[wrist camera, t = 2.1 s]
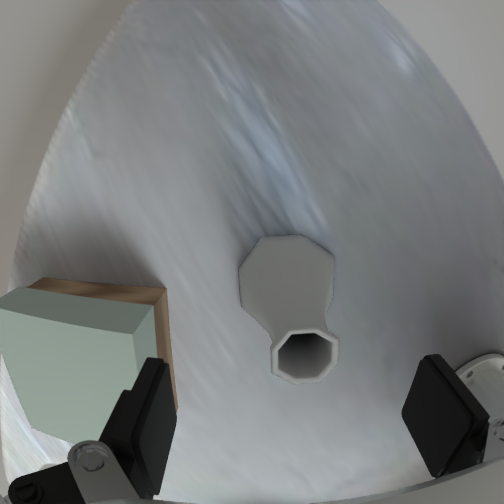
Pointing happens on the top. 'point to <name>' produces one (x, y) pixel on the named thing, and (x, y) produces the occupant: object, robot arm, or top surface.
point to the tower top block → (72, 357)
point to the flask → (292, 304)
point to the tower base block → (123, 294)
